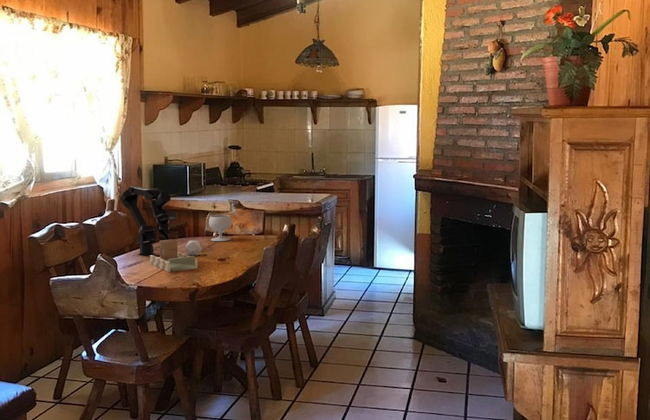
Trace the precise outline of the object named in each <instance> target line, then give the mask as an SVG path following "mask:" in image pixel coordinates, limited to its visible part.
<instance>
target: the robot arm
mask: <svg viewBox="0 0 650 420" xmlns="http://www.w3.org/2000/svg"><path fill="white" fill-rule="evenodd" d="M139 196H142V197H143V198H144V199H145V200H147V201H149V204H148V207H150V208H151V209H152V212H153V217H154V218H155V220H156V222H155V223H156V224H157V225H156V229H157V230H155V228H154V227H153V225H152V224H151V225H148V223H147V222H146V220H145V216H144V215H143V213H142V211H141V210H140V208H139V206H138V201H139ZM170 201H171V195H170V194H169V193H167V192H166V190H160V188H145V187H141V186H139V185H130V186H129V187H128V189H126V190H125V191H124V192H122V194H121V196H120V202H121V204H122V205H123V207H125V208H126V209H128V210H129V213H130V214H131V217H132V219H133V220H134V222H135V224H136V226H137V228H138V236H137V238H136V244H137V245H139V253H138V255H139V256H150V255H155V253H156V252H154V245H153V244H154V243H156V239H157V233H156V231H157V232H158V233H159V234H160V235H162V237H163V238H164V240H170V237H169V235H170V232H169V230H170V225H169V222H170V220H171V221H172V220H173V221H177V220H178V211H170V210H169V211H167V210H166V209H165V208H164V207H165V206H166V205H167V204H168V203H169V202H170Z"/></svg>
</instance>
